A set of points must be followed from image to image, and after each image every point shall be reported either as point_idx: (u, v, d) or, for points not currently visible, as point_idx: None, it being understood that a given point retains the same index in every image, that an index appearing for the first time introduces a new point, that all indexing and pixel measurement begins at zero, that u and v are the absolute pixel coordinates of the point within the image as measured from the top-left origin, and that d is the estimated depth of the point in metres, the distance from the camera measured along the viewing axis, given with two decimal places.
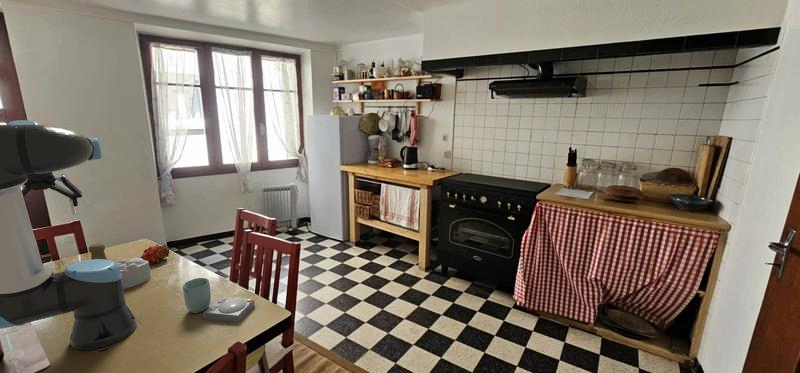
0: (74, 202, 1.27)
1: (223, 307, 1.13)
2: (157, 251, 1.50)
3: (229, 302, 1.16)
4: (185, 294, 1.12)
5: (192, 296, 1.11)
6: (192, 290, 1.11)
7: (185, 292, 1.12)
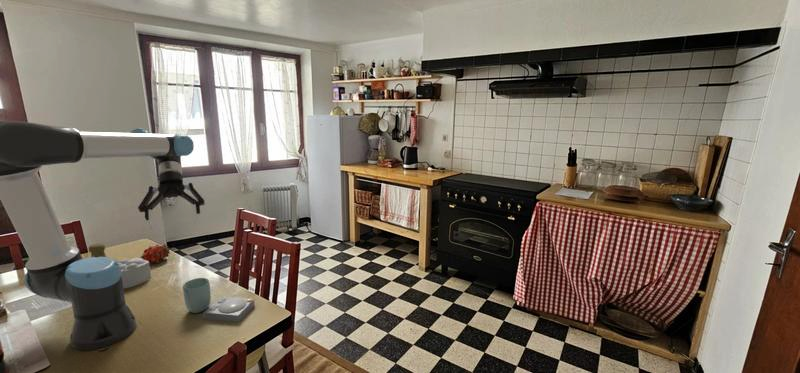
0: (197, 208, 1.26)
1: (223, 307, 1.13)
2: (157, 251, 1.50)
3: (229, 302, 1.16)
4: (185, 294, 1.12)
5: (192, 296, 1.11)
6: (192, 290, 1.11)
7: (185, 292, 1.12)
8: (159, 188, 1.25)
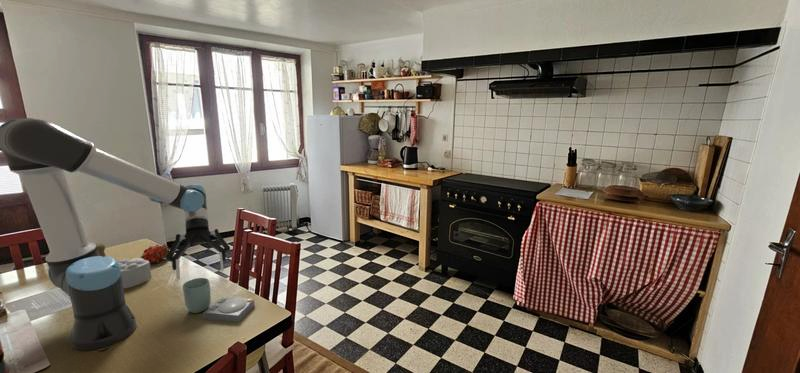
0: (223, 255, 1.26)
1: (223, 307, 1.13)
2: (157, 251, 1.50)
3: (229, 302, 1.16)
4: (185, 294, 1.12)
5: (192, 296, 1.11)
6: (192, 290, 1.11)
7: (185, 292, 1.12)
8: (186, 236, 1.24)
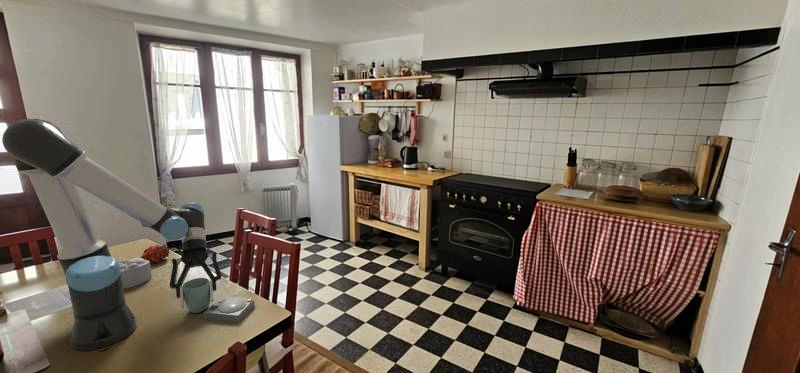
0: (213, 284, 1.17)
1: (223, 307, 1.13)
2: (157, 251, 1.50)
3: (229, 302, 1.16)
4: (185, 294, 1.12)
5: (192, 296, 1.11)
6: (192, 290, 1.11)
7: (185, 292, 1.12)
8: (182, 258, 1.18)
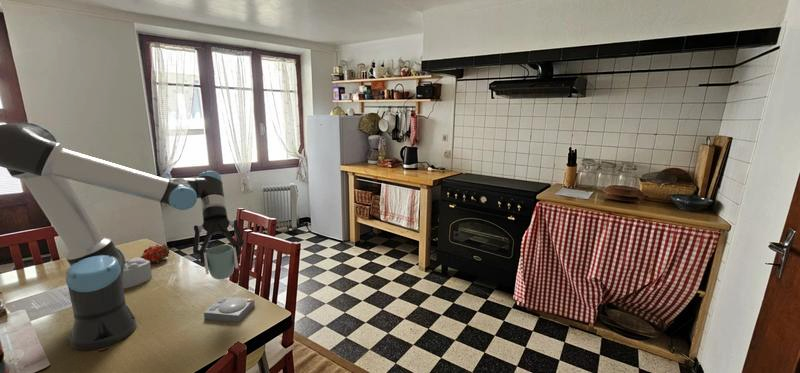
0: (237, 251, 1.15)
1: (223, 307, 1.13)
2: (157, 251, 1.50)
3: (229, 302, 1.16)
4: (209, 260, 1.10)
5: (217, 261, 1.09)
6: (217, 255, 1.09)
7: (209, 258, 1.09)
8: (204, 225, 1.16)
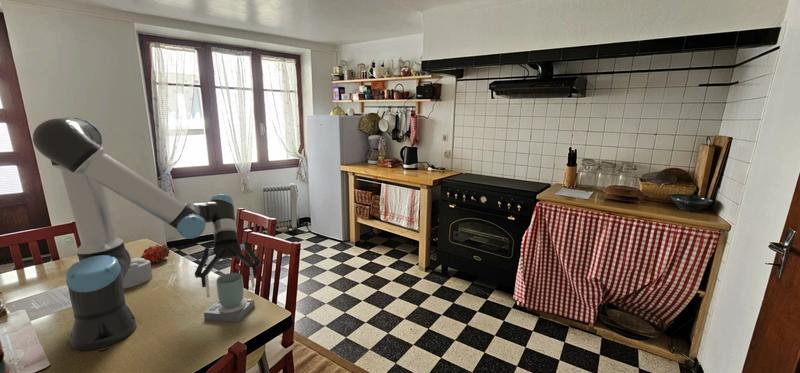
0: (253, 271, 1.17)
1: (223, 307, 1.13)
2: (157, 251, 1.50)
3: None
4: (219, 289, 1.10)
5: (227, 291, 1.10)
6: (227, 284, 1.09)
7: (219, 287, 1.10)
8: (215, 249, 1.16)
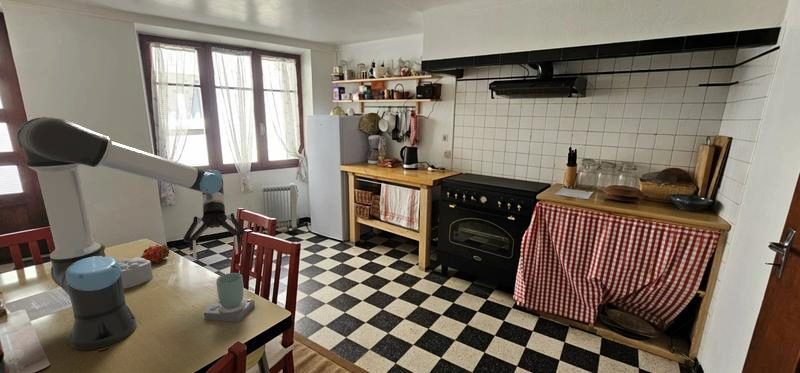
0: (238, 239, 1.29)
1: (223, 307, 1.13)
2: (157, 251, 1.50)
3: None
4: (219, 289, 1.10)
5: (227, 291, 1.10)
6: (227, 284, 1.09)
7: (219, 287, 1.10)
8: (203, 218, 1.28)
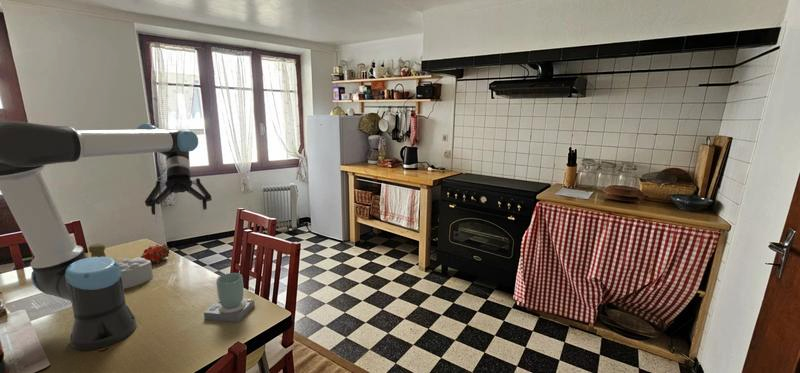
0: (204, 203, 1.25)
1: (223, 307, 1.13)
2: (157, 251, 1.50)
3: None
4: (219, 289, 1.10)
5: (227, 291, 1.10)
6: (227, 284, 1.09)
7: (219, 287, 1.10)
8: (166, 183, 1.24)
